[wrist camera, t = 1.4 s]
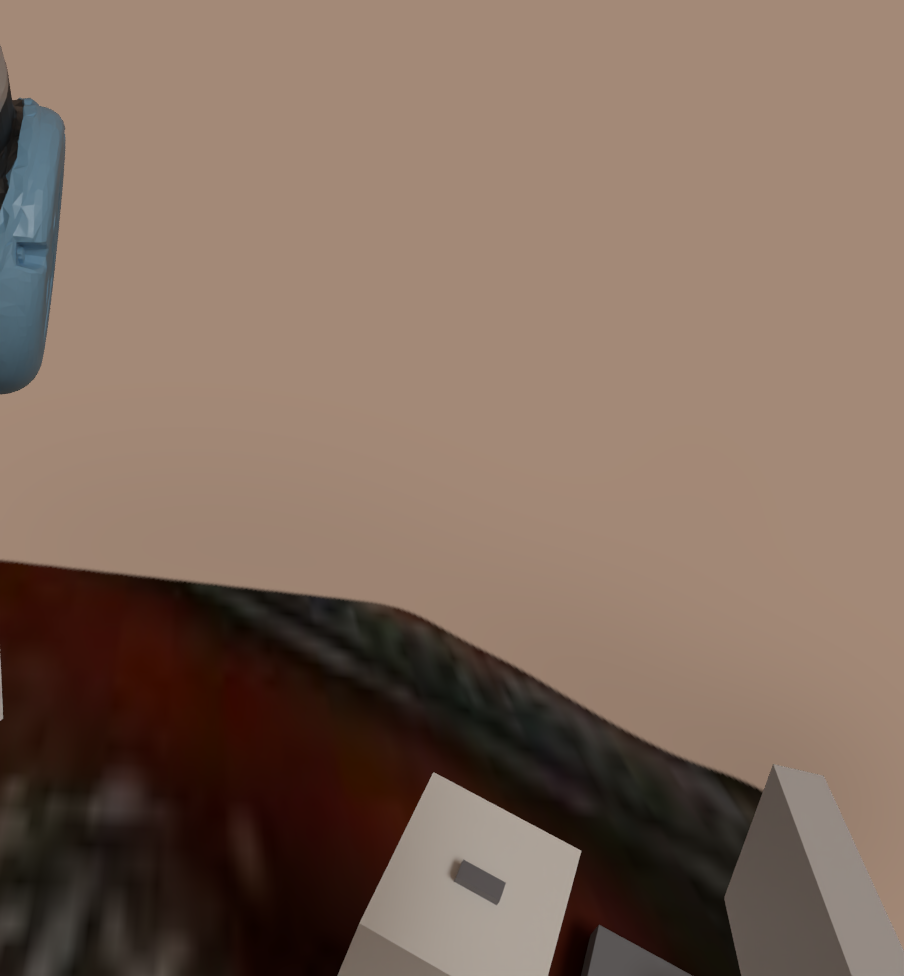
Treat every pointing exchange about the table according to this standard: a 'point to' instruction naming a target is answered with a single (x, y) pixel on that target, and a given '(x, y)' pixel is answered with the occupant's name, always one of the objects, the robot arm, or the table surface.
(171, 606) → the table surface
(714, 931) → the table surface
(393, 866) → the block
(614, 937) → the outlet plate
